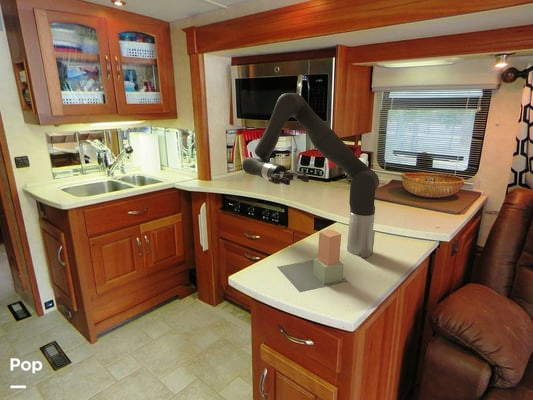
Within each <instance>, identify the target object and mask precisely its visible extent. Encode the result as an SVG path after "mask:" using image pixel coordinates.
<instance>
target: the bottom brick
mask: <svg viewBox="0 0 533 400" xmlns="http://www.w3.org/2000/svg"><path fill="white" fill-rule="evenodd" d="M313 260H314V268H313V275H315V276H316V277H317V278H318V279H319V280H320V281H321V282H322V283H323V284H327V283H331V282H336V281H341V280H342V277H343V273H344V263H343V262H342V261H340V260H339V262H338V263H335V264H332V265H329V266H327V265H326V264H324V263H322V262H321V261H319V260H318V257H314V258H313Z"/></svg>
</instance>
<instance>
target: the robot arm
mask: <svg viewBox="0 0 533 400" xmlns="http://www.w3.org/2000/svg"><path fill="white" fill-rule="evenodd" d="M290 118H293V119H295V120H296V121H297V122H298V123H299V124H300V125H301V126H302V127H303V128H304V130H305V132H306V134H307V136H308V138H309V140H310V142H311V143H312V145H313V146H314V148H315V149H316V150H317V151H318V152H319V153H320V154H321V155H322V156H323V157H324V158H326V159H327V160H328V161H330V162H331V163H333V164H334V165H336V166H337V167H339V168H341V169H342V170H343V171H344V172H345V173H346V175H348V176H349V177H350V179H351V180H350V186H349V201H348V203H349V221H348V234H347V244H346V245H347V246H346V251H347V252H348V253H350V254H352V255H353V256H354V255H355V256H358V257H360V258H361V259H363V258H368V257H370V256H371V255H373V253H374V245H375V235H376V232H375V231H374V226H375V216H376V215H375V214H376V206H375V200H376V199H375V198H376V190H377V189H378V188H379V186H380V178H379V176H378V174H377V173H376V172H375V171H374V170H373V169H372V168H370V167H369V166H368V165H367V164H366V163H364V162H363V161H362V160H361V159H360V158H359V157H358V156H357V155H356V154H355V153H354V152H353V151H352V149H350V147H349V146H348V145H347V144H346V143H345V142H344V141H343V139H342V138H341V137H340V136H339V135H338V133H336V132H335V131H334V130H333V129H332V128H331V127H330V126H329V125H328V124H327V123H326V122H325V121H324V120H323V119H321V117H320V116H319V115H317V113H316V112H315V111H314V110H313V109H312V107H311V106H310V104H309V103H308V102H307V101H306V100H305V98H304V97H303V96H302V95H301V94H300V93H296V92H286V93H283V94H281V95H280V96H279V97H278V99H277V101H276V103H275V106H274V108H273V111H272V114H271V116H270V119H269V121H268V124H267V126H266V129H265V130H264V132H263V134H262V136H261V138H260V139H259V141H258V143H257V145H256V146H255V149H254V153H255V155H256V157H258V158H256V157H251V156H248V157H246V158H245V159H244V160H243V161H242V167H241V168H242V170H243V171H244V172H245V173H247V174H250V175H254V176H258V177H259V178H262V179H265V180H267V181H268V182H270V183H272V184H274V185H282V184H283V185H286V186H290V185H291V182H298V181H300V182H304V183H309V181H310V177H309V176H308V175H307V173H306V172H302V171H299V170H295V171H291V170H289V169H288V168H287V167H286V166H285V165H282V164H279V163H275V162H270V161H269V160H270V156H272V153H273V151H274V150H275V148H276V146H277V144H278V142H279V139H280V135H281V132H282V129H283V128H284V126H285V125H286V123H287V122H288V120H289V119H290Z"/></svg>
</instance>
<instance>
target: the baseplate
mask: <svg viewBox="0 0 533 400" xmlns="http://www.w3.org/2000/svg"><path fill="white" fill-rule="evenodd" d="M276 268H277V269H278V270H279V271H280V273H282V275H283V276H285V278H286V279H287V280H288V281H289V282H290V284H291V285H292V286H293V287H294V288H295V289H296V290H297V291H298V292H299V293H302V292H307V291H311V290H316V289H321V288H325V287H330V286H335V285H339V284H344V283H348V282H349V280H347V279H346V278H345V277H344V276H342V280H341V281H336V282H331V283H327V284H323V283H322V282H321V281H320V280H319V279H318V278H317V277H316V276H315V275H313V268H314V259H311V260H306V261H300V262H296V263H295V262H294V263H290V264H284V265H279V266H276Z"/></svg>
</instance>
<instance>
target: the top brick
mask: <svg viewBox="0 0 533 400" xmlns="http://www.w3.org/2000/svg"><path fill="white" fill-rule="evenodd" d="M341 242H342V233H340V232H339V231H335V230H334V229H331V228H330V229H326V230H323V231H319V232H318V246H317V247H318V249H317V258H318V260H319V261H321V262H322V263H324V264H326V265H327V266H329V265H332V264H335V263H338V262H339V261H340V255H341V254H340V253H341V244H342V243H341Z"/></svg>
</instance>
